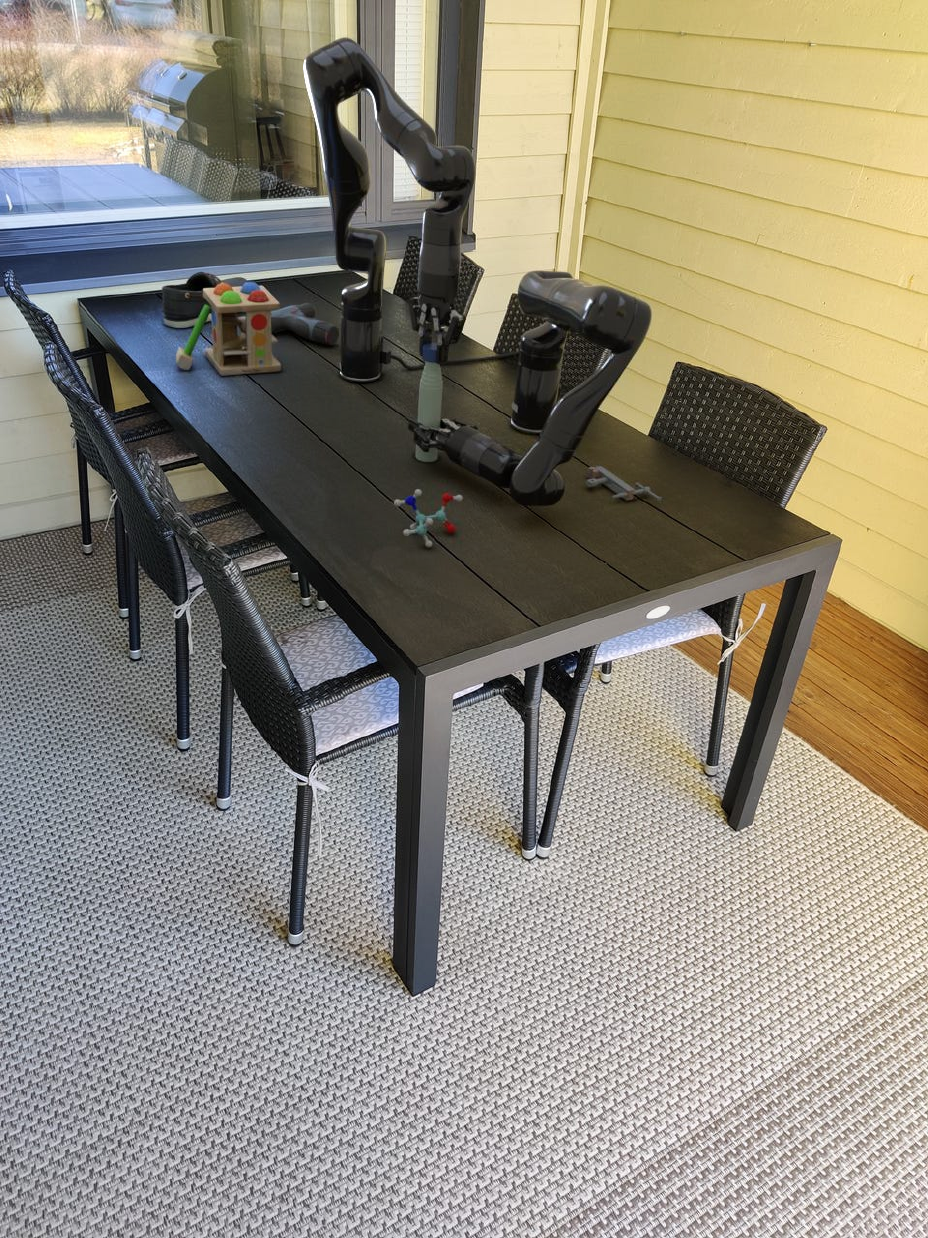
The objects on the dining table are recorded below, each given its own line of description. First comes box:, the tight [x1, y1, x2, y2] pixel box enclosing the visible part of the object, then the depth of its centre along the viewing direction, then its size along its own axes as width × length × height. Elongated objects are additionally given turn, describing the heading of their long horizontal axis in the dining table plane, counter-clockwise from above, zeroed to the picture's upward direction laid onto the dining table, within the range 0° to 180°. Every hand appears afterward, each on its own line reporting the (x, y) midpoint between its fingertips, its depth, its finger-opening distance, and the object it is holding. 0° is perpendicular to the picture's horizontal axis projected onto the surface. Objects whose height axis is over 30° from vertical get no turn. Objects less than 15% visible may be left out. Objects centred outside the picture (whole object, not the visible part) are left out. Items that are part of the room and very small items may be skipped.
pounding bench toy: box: [174, 281, 282, 377], centre depth 225 cm, size 23×14×18 cm, turn 116°
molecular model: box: [393, 488, 464, 548], centre depth 169 cm, size 12×10×10 cm
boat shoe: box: [160, 271, 249, 329], centre depth 258 cm, size 13×33×10 cm, turn 147°
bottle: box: [414, 361, 444, 463], centre depth 192 cm, size 4×4×22 cm
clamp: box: [585, 465, 663, 503], centre depth 191 cm, size 15×2×10 cm
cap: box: [421, 342, 438, 363], centre depth 186 cm, size 4×4×2 cm
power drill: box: [271, 302, 340, 346], centre depth 252 cm, size 5×19×20 cm
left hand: (433, 359), depth 186 cm, fingers closed on cap, 4 cm apart
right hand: (419, 421), depth 196 cm, fingers closed on bottle, 4 cm apart
